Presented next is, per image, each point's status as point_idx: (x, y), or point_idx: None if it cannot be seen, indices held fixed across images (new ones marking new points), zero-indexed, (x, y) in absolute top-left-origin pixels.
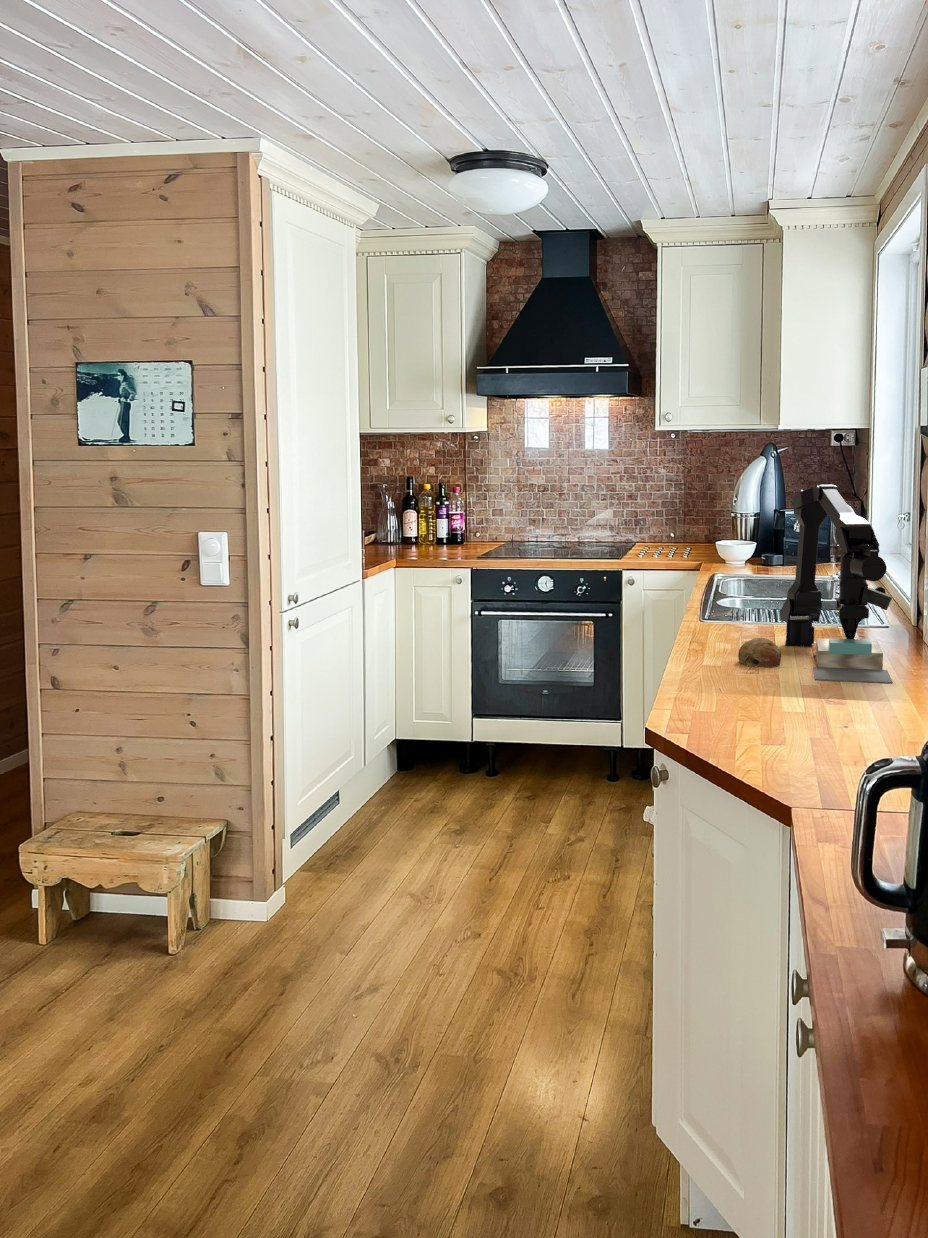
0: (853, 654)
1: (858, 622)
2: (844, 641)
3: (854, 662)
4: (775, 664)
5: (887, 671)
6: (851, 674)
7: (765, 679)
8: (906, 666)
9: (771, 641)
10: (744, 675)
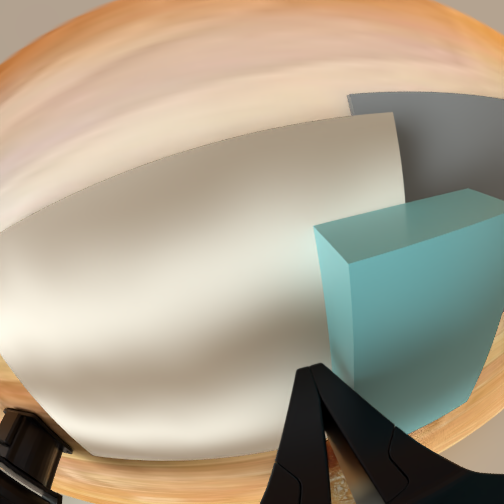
0: None
1: (474, 473)
2: (446, 380)
3: None
4: None
5: (387, 94)
6: None
7: (486, 377)
8: (145, 33)
9: (340, 498)
10: (453, 414)
